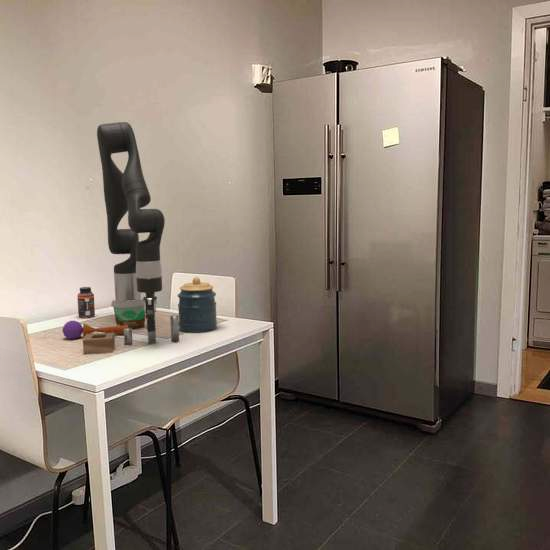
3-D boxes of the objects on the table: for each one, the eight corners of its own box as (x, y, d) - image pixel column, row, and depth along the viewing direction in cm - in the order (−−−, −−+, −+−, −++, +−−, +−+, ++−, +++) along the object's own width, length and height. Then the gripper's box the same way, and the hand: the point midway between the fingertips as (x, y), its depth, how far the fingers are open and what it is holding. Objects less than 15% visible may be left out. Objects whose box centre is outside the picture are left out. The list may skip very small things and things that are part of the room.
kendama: (128, 325, 177) (61, 324, 171) (127, 342, 178) (61, 342, 173) (128, 318, 182) (63, 317, 177) (127, 334, 184) (63, 334, 179)
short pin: (124, 343, 168) (123, 327, 168) (132, 343, 169) (132, 327, 168) (124, 345, 166) (123, 329, 165) (132, 345, 166) (131, 329, 166)
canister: (182, 334, 179) (180, 280, 177) (175, 326, 191) (173, 275, 189) (221, 331, 183) (219, 278, 181) (212, 323, 195) (211, 273, 193)
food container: (115, 332, 183) (113, 302, 182) (112, 328, 189) (110, 299, 188) (152, 328, 188) (150, 299, 187) (148, 324, 194) (147, 296, 193)
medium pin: (171, 340, 171) (170, 315, 170) (179, 340, 172) (178, 315, 170) (171, 342, 169) (170, 317, 168) (179, 342, 169) (178, 316, 168)
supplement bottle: (92, 318, 207) (90, 288, 205) (76, 318, 206) (74, 288, 205) (97, 315, 213) (95, 286, 211) (81, 315, 212) (79, 286, 211)
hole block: (87, 347, 165) (86, 334, 164) (114, 345, 167) (114, 332, 166) (83, 354, 157) (82, 340, 157) (112, 352, 159) (111, 338, 158)
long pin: (148, 342, 170) (146, 303, 168) (156, 341, 170) (154, 303, 169) (148, 344, 167) (146, 305, 166) (156, 343, 168) (154, 304, 166)
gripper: (137, 273, 172) (139, 324, 174) (135, 279, 158) (137, 334, 160) (161, 272, 174) (163, 322, 176) (161, 278, 160) (164, 332, 162)
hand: (151, 328), depth 168 cm, fingers open, 8 cm apart
